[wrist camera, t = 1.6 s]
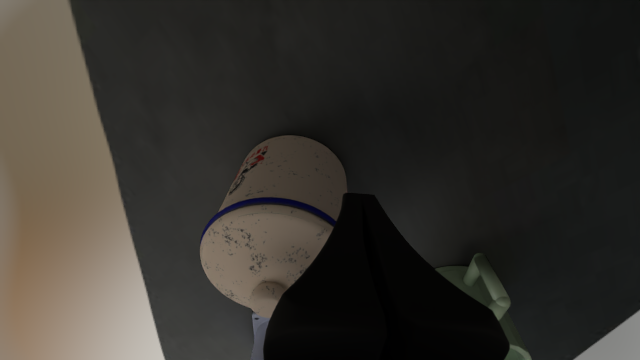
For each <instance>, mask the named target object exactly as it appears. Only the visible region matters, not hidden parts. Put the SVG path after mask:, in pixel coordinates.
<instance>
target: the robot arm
mask: <svg viewBox="0 0 640 360" xmlns="http://www.w3.org/2000/svg"><path fill="white" fill-rule="evenodd" d="M252 319H253V331H254V346H253V351H252V355H251V360H504V359H505V358H506V356H507V354H508V352H509V350H510V343H509V341H508V339H507V337H506V335H505V333H504V330H503V328H502V326H501V324H500V322H499V321H498V319H497V317H496V316H495V314H494V312H493V310H491V309H489V308H488V307H486V306H485V305H483V304H482V303H480V302H479V301H477V300H475V299H474V298H472V297H471V296H469V295H468V294H466V293H465V292H463V291H462V290H461V289H459V288H458V287H457V286H455V285H454V284H453V283H451V282H450V281H449V280H447V279H446V278H445V277H444V276H442V275H441V274H440V273H439V272H438V271H436V270H435V269H434V268H433V267H432V266H431V265H429V264H428V263H427V262H426V261H425V260H424V259H423V258H422V257H421V256H420V255H419V254H418V253H417V252H416V251H415V250H414V249H413V248H412V247H411V246H410V244H409V243H408V242H407V241H406V240H405V239H404V237H403V236H402V235H401V234H400V232H399V231H398V230H397V228H396V227H395V226H394V224H393V223H392V222H391V220H390V219H389V217H388V216H387V214H386V213H385V211H384V210H383V208H382V207H381V205H380V204H379V202H378V200H377V199H376V197H375V196H374V195H369V194H357V193H344V194H343V197H342V205H341V210H340V213H339V216H338V219H337V221H336V224H335V226H334V228H333V230H332V232H331V234H330V236H329V238H328V239H327V241H326V243H325V244H324V246H323V248H322V249H321V251H320V252H319V254H318V255H317V256H316V258H315V259H314V261H313V262H312V263H311V264H310V266H309V267H308V268H307V269H306V270H305V271H304V273H303V274H302V275H301V276H300V277H299V278H298V279H297V280H296V281H295V282H294V283H293V284H292V285H291V286H290V287H289V288H288V289H287V290H286V291H285V292H284V293H283V294H282V296H281V298H280V300H279V301H278V303H277V305H276V307H275V309H274V311H273V313H272V315H271V318H265V317H261V316H259V315H257V314H256V313H254V312H253V314H252Z"/></svg>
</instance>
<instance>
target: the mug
mask: <svg viewBox="0 0 640 360" xmlns="http://www.w3.org/2000/svg"><path fill="white" fill-rule="evenodd" d="M435 270H436V271H438V272H439V273H440V274H441V275H442V276H444V277H445V278H446V279H447V280H449V281H450V282H451V283H453V284H454V285H455V286H457V287H458V288H459V289H461V290H462V291H463V292H465V293H466V294H468V295H469V296H471V297H472V298H474V299H475V300H477V301H479V302H480V303H482V304H483V305H485V306H486V307H488V308H489V309H491V310H493V312H494V314H495V316H496V317H497V319H498V321H499V322H500V324H501V326H502V328H503V330H504V333H505V335H506V337H507V339H508V341H509V343H510V350H509V352H508V354H507V356H506V358H505V359H504V360H532V359H531V356H530V354H529V352H528V350H527V348H526V347H525V345H524V343H523V341H522V339H521V337H520V335H519V333H518V331H517V329H516V327H515V325H514V324H513V322H512V320H511V318H510V316H509V314H508V312H507V309H508V308H509V306H510V305H511V301H510V298H509V296H508V295H507V293H506V291H505V289H504V287H503V286H502V284H501V282H500V280H499V278H498V277H497V275H496V273H495V271H494V269H493V267H492V266H491V264H490V262H489V260H488V258H487V257H486V255H485V254H483V253H477V254H475V255H474V257H473V259H472V261H471V263H470V265H469V267H466V266H445V267H440V268H436V269H435Z"/></svg>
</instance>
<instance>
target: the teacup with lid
mask: <svg viewBox="0 0 640 360" xmlns="http://www.w3.org/2000/svg"><path fill="white" fill-rule="evenodd" d="M344 193H347V180H346V174H345V171H344V168H343V166H342V164H341V162H340V161H339V159H338V158H337V157H336V155H335V154H334V153H333V152H332V151H331V150H330V149H328V148H327V147H326V146H324V145H323V144H321V143H319V142H317V141H315V140H313V139H310V138H306V137H302V136H294V135H285V136H278V137H274V138H271V139H268V140H266V141H264V142H262V143H260V144H259V145H257V146H256V147H255V148H254V149H252V151H251V152H250V153H249V154H248V155H247V157H246V158H245V160H244V162H243V164H242V166H241V168H240V170H239V172H238V174H237V176H236V178H235V180H234V182H233V184H232V186H231V188H230V190H229V192H228V194H227V196H226V198H225V199H224V201H223V203H222V205H221V207H220V209H219V211H218V213H217V214H216V215H215V216H214V217H213V218H212V219H211V220H210V221H209V222H208V224H207V225H206V227H205V229H204V231H203V234H202V237H201V242H200V258H201V262H202V266H203V269H204V271H205V273H206V275H207V277H208V278H209V280H210V281H211V282H212V284H213V285H214V286H215V287H216V288H217V289H218V290H219V291H220V292H222V293H223V294H224V295H226V296H227V297H228V298H230V299H232V300H233V301H235V302H237V303H239V304H241V305H244V306H246V307H249V308H251V309H252V310H253V311H254V313H256V314H257V315H259V316H261V317H265V318H271V315H272V313H273V311H274V309H275V307H276V305H277V303H278V301H279V300H280V298H281V296H282V294H283V293H284V292H285V291H286V290H287V289H288V288H289V287H290V286H291V285H292V284H293V283H294V282H295V281H296V280H297V279H298V278H299V277H300V276H301V275H302V274H303V273H304V271H305V270H306V269H307V268H308V267H309V266H310V264H311V263H312V262H313V261H314V259H315V258H316V256H317V255H318V254H319V252H320V251H321V249H322V248H323V246H324V244H325V243H326V241H327V239H328V238H329V236H330V234H331V232H332V230H333V228H334V226H335V224H336V221H337V219H338V216H339V213H340V210H341V205H342V197H343V194H344Z"/></svg>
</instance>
